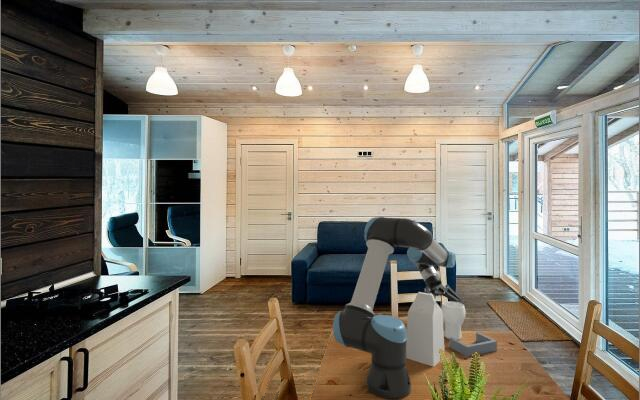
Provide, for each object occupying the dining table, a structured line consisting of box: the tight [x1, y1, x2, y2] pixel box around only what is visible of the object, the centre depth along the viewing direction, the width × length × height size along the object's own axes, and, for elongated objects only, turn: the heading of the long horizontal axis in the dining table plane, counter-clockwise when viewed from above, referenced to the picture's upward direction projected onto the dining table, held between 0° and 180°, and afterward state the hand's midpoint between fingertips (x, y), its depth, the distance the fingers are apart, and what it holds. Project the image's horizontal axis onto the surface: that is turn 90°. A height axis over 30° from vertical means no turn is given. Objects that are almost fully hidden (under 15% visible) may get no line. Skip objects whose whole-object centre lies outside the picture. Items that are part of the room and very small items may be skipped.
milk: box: [406, 291, 445, 367], centre depth 147 cm, size 12×12×26 cm
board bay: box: [448, 331, 498, 358], centre depth 155 cm, size 16×10×4 cm, turn 111°
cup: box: [440, 300, 466, 341], centre depth 168 cm, size 11×11×15 cm
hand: (452, 317), depth 169 cm, fingers open, 13 cm apart
